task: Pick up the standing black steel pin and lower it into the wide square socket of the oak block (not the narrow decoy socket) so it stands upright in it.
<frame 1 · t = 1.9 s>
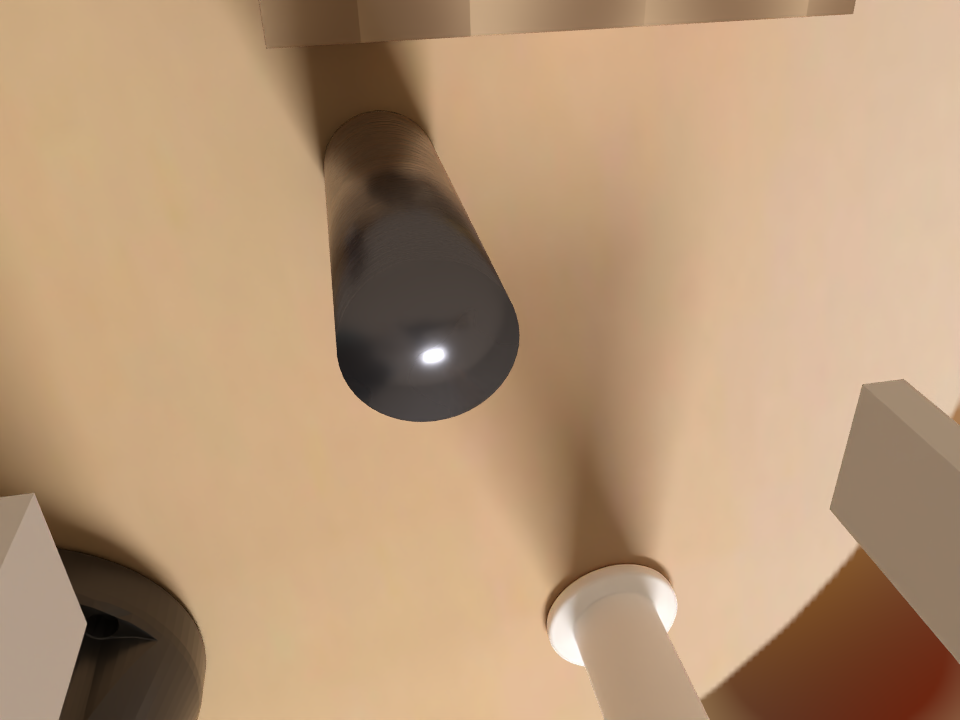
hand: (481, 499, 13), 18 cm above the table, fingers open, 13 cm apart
candle: (608, 608, 43), on the table
steel pin: (381, 168, 28), on the table
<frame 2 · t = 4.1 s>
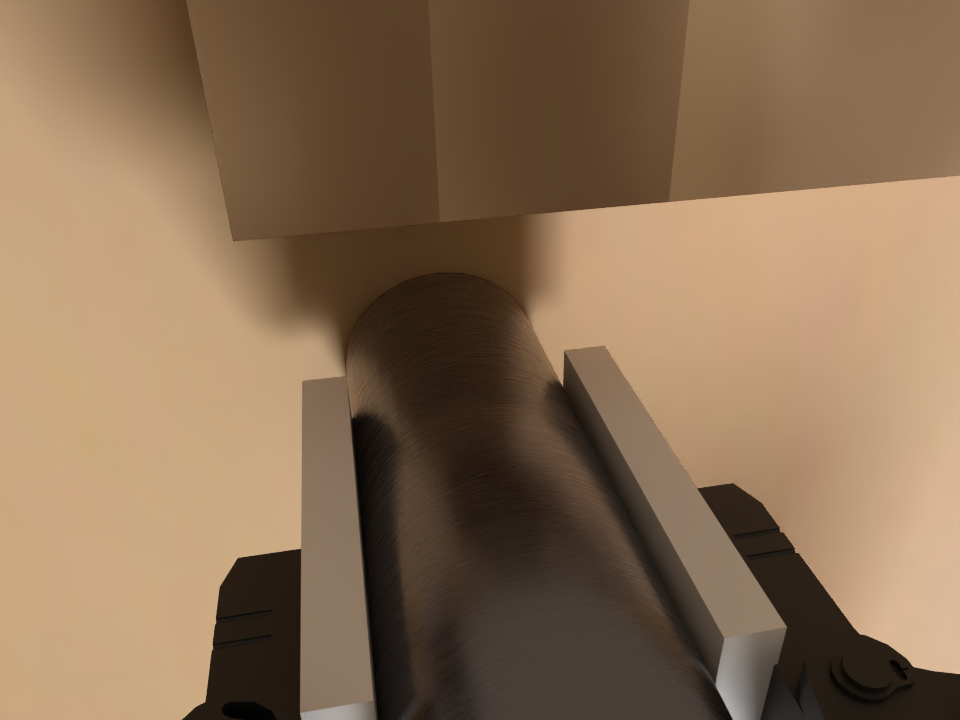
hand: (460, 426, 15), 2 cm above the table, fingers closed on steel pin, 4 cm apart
steel pin: (442, 360, 17), on the table, touching gripper
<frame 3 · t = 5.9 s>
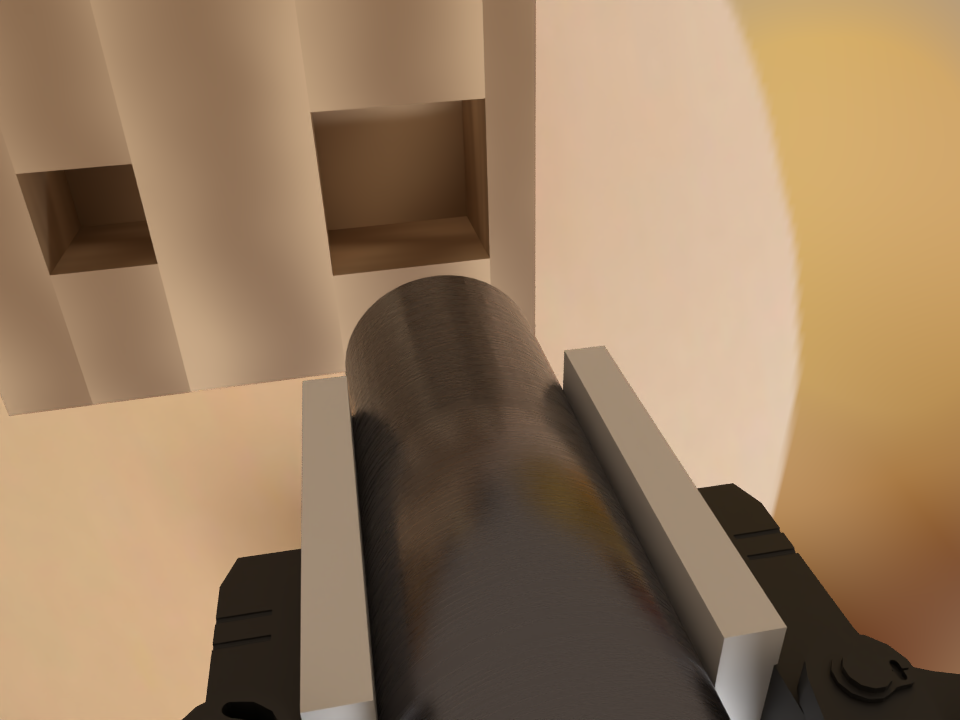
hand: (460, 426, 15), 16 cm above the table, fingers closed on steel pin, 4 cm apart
steel pin: (441, 362, 17), point 14 cm above the table, touching gripper
oak block: (258, 157, 27), on the table
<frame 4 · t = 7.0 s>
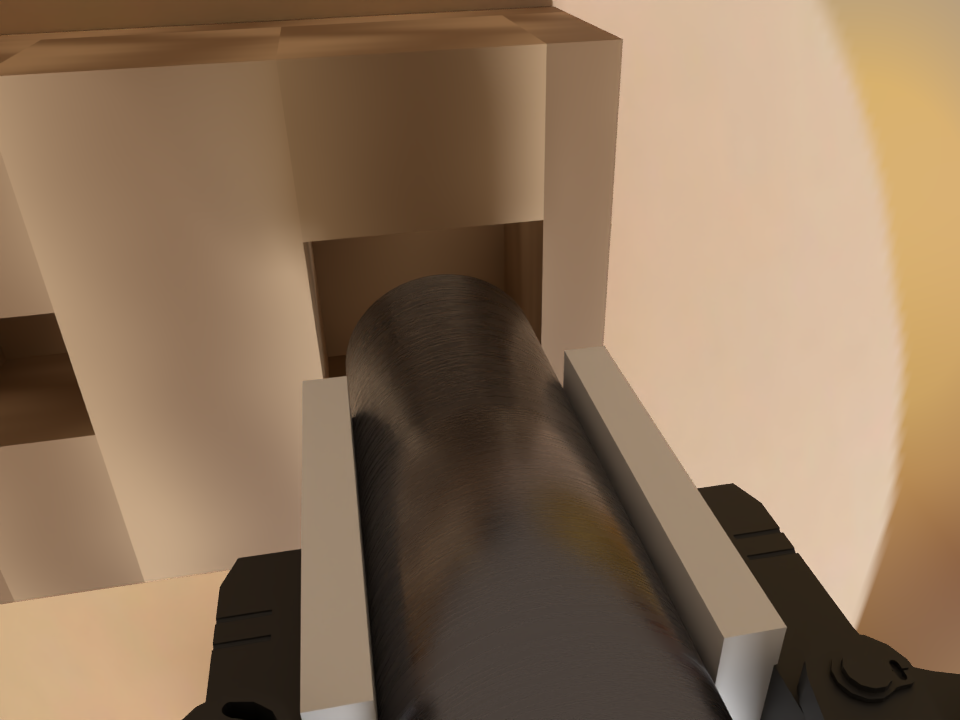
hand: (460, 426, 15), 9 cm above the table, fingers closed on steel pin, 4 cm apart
steel pin: (442, 361, 17), point 6 cm above the table, touching gripper
oak block: (240, 266, 21), on the table
when the fingers open (6 cm above the table, at t = 7.7 s): steel pin drops 1 cm, resting on oak block.
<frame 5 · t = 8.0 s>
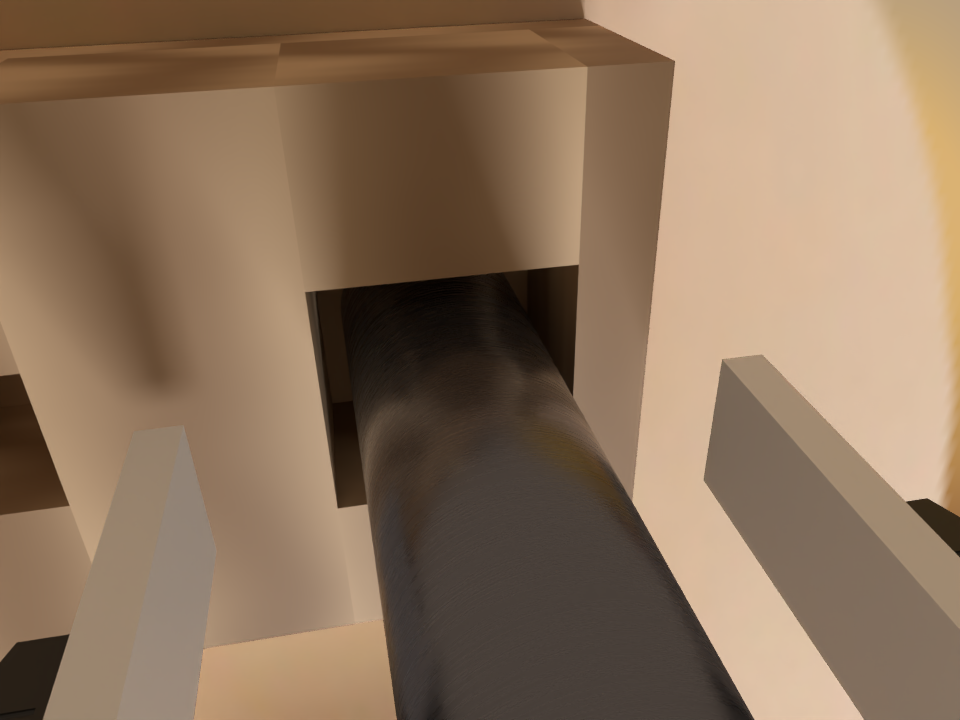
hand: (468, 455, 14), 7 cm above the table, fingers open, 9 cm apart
steel pin: (425, 305, 19), point 1 cm above the table, touching oak block
oak block: (235, 304, 19), on the table
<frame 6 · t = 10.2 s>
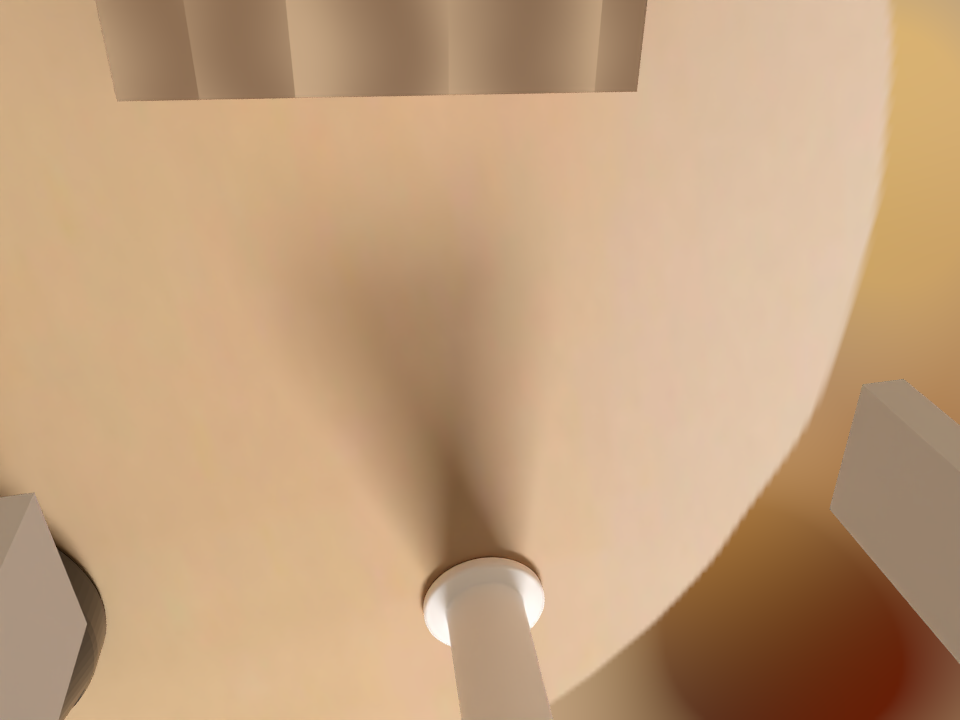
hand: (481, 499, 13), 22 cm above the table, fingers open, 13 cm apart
candle: (482, 597, 47), on the table
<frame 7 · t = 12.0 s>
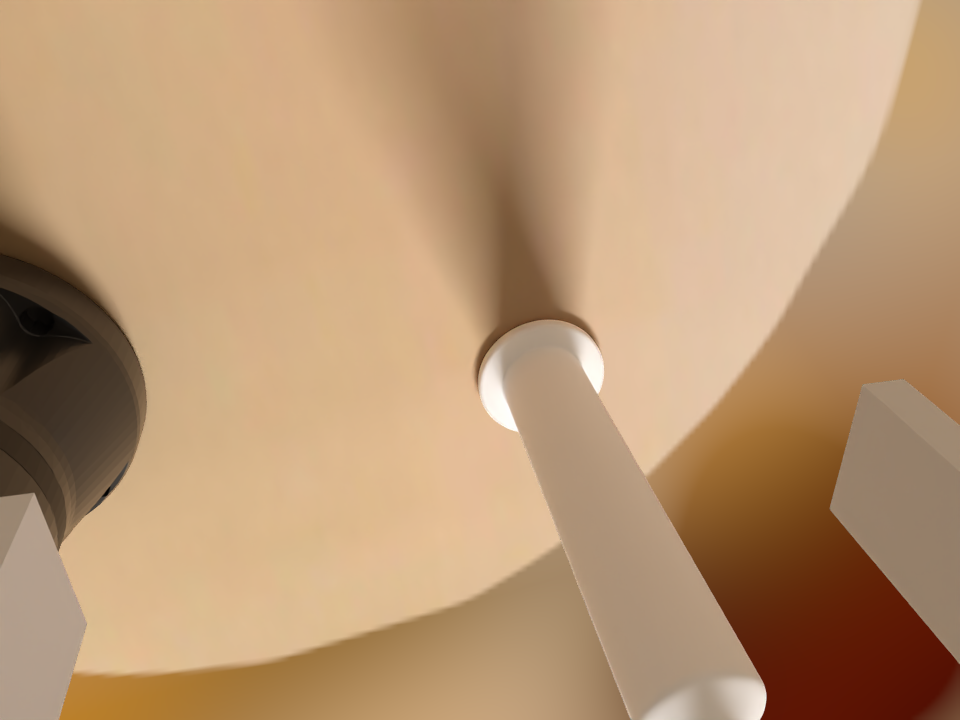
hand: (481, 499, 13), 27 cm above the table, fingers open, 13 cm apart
candle: (538, 372, 45), on the table
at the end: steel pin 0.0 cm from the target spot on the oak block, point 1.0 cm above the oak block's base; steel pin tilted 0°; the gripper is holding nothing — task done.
